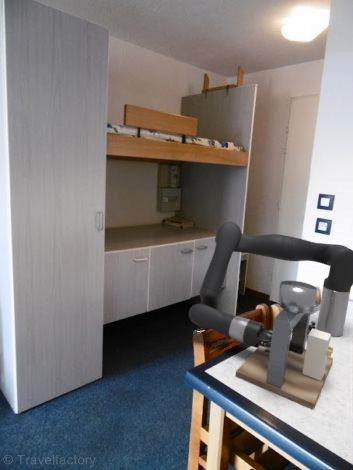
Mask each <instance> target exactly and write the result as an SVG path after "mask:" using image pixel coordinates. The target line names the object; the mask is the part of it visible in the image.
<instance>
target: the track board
mask: <svg viewBox="0 0 353 470" xmlns="http://www.w3.org/2000/svg"><path fill="white" fill-rule="evenodd" d="M305 354H306V348H305V350H304V351H303V353H302V355H300V354H297V353H294V352H292V351H289V352H288V359H287V366H286V373H285V380H284V384H283V386H282V387H281V389H280V388H278V387H275V386H273V385H270V384H268V383H266V378H267V370H268V363H269V355H270V353H267V352H265V348H264V347H263V346H261V345H260V346H259V347H258V348H256V349H255V350H253V352H252V353H251V354H250V355H249V357H248V358H247V359H246V360H245V361H244V362H243V363H242V364H241V365H240V366H239V368H238V369H236V371H235V377H237V378H239V379H241V380H244V381H246V382H249V384H253V385H255V386H257V387H259V388H263V389H265V390H267V391H270V392H272V393H274V394H276V395H279V396H281V397H283V398H286V399H288V400H291V401H292V402H295V403H298V404H300V405H303V406H304V407H307V408H309V409H311V410H314V409H315V407H316V404H317V401H318V399H319V396H320V394H321V392H322V389H323V387H324V384H325V381H326V379H327V377H328V375H329V371H330V370H331V366H332V365H333V361H334V358H333V357H332V356H331V357H329V356H327V362H326V368H325V373H324V375H323V378H322V380H321V381H320V380H317V379H315V378H312V377H309V376H307V375H304V374H302V373H303V367H304V360H305Z"/></svg>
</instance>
